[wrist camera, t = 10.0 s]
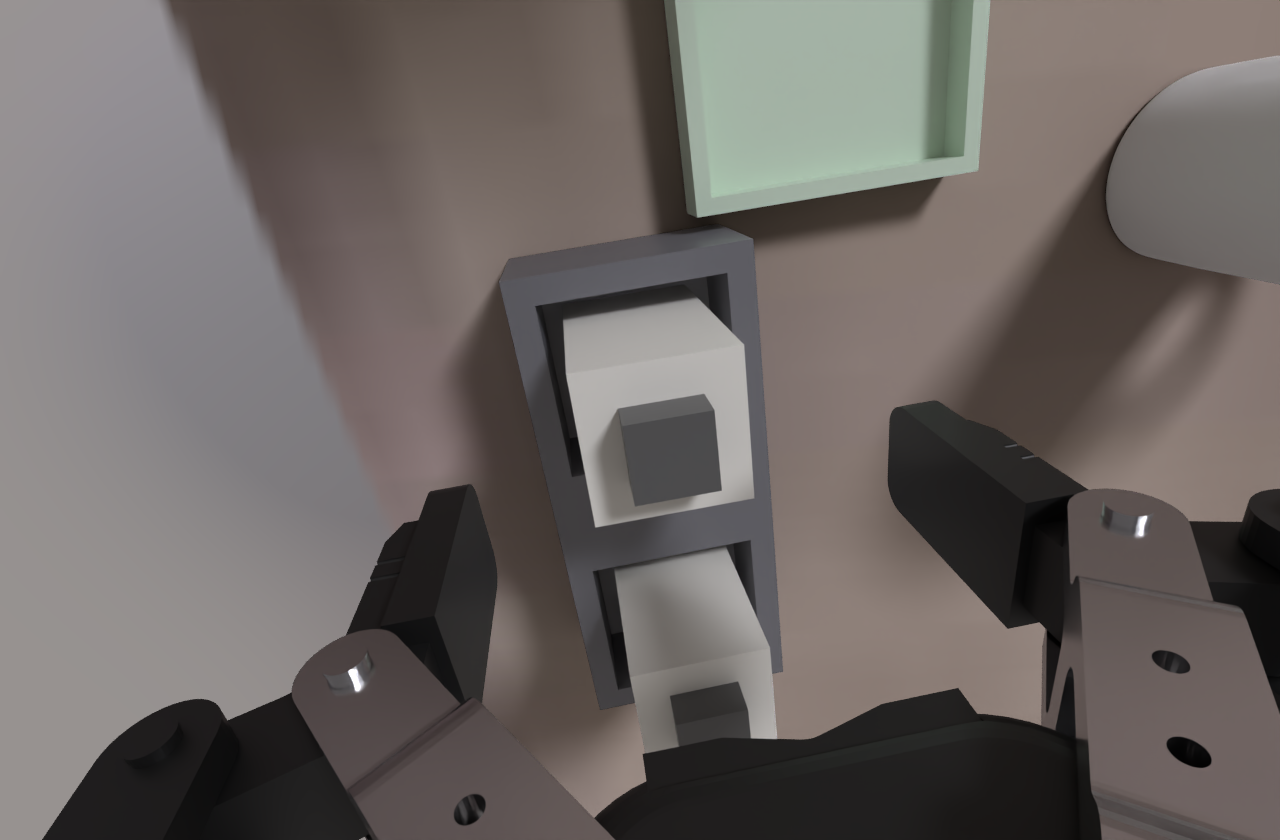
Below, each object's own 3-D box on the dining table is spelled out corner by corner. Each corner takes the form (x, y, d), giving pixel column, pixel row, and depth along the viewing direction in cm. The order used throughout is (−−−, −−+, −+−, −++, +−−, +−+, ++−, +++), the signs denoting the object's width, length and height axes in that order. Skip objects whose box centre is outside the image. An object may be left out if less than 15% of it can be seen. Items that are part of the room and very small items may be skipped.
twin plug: (609, 535, 24) (633, 706, 16) (712, 515, 24) (782, 675, 17) (625, 617, 25) (654, 805, 18) (721, 598, 26) (788, 776, 18)
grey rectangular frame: (508, 258, 20) (498, 281, 17) (718, 224, 21) (753, 238, 17) (593, 634, 27) (600, 710, 23) (752, 602, 27) (782, 671, 24)
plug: (562, 304, 20) (566, 390, 13) (684, 284, 20) (757, 357, 13) (583, 417, 22) (597, 551, 14) (696, 398, 22) (767, 520, 15)
